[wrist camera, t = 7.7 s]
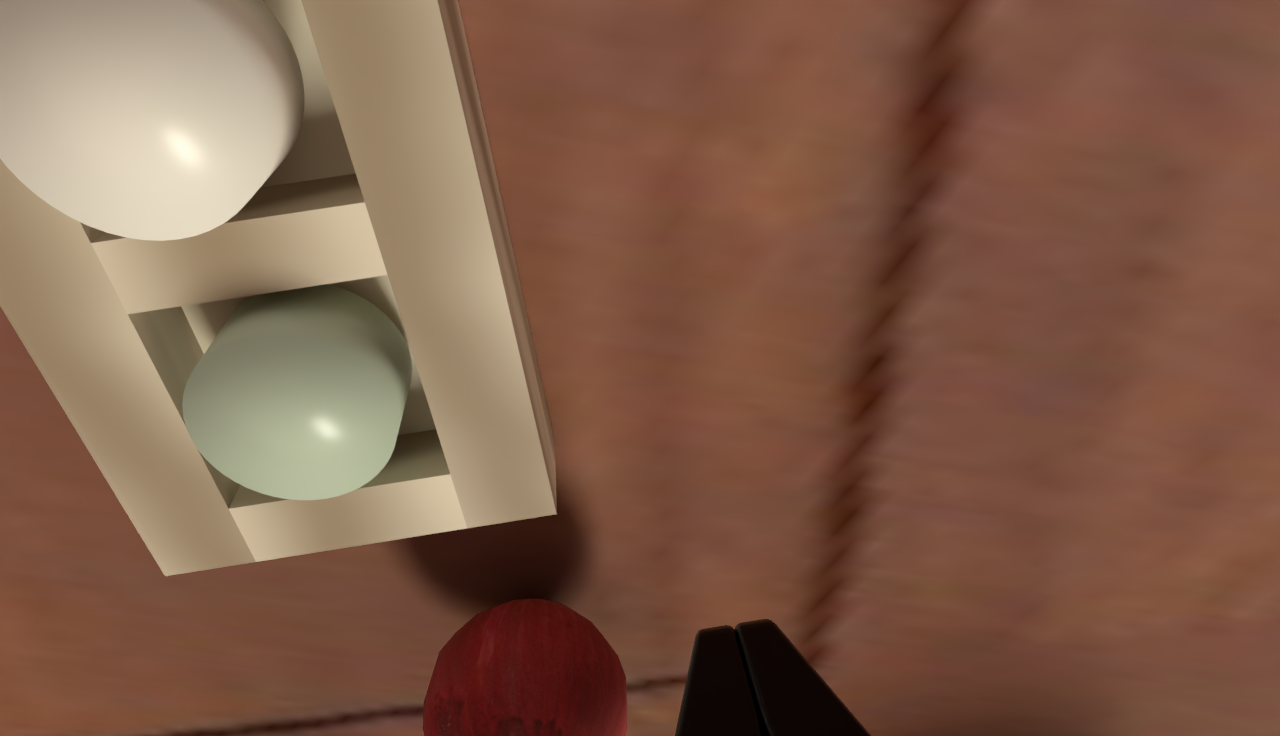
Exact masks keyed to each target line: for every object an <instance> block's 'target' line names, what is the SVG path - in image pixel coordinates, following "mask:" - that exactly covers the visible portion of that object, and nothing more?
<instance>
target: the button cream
mask: <svg viewBox="0 0 1280 736" xmlns="http://www.w3.org/2000/svg"><path fill="white" fill-rule="evenodd" d="M303 114H304V85H303V77H302V73H301V69H300V65H299V61H298V58H297V56H296V53H295V51H294V48H293V46H292V43H291V41H290V40H289V38H288V36H287V34H286V32H285V30H284V28H283V27H282V25H281V24H280V22H279V21H278V19H277V18H276V16H275V15H274V14H273V12H272V11H271V10H270V9H269V7H268V6H267V5H266V4H265V3H264V2H263V0H0V159H1V160H2V161H3V163H4V164H5V165H6V167H7V168H8V169H9V170H10V171H11V172H12V173H13V174H14V175H15V176H16V177H17V178H18V179H19V180H20V181H21V182H22V183H23V184H24V185H25V186H26V187H28V188H29V189H30V190H31V191H32V192H33V193H35V194H36V195H37V196H38V197H40V198H41V199H42V200H44V201H45V202H47V203H48V204H49V205H51V206H52V207H54V208H55V209H57V210H59V211H60V212H62V213H64V214H65V215H67V216H69V217H71V218H73V219H75V220H77V221H79V222H81V223H83V224H85V225H88V226H90V227H92V228H95V229H98V230H101V231H104V232H106V233H110V234H114V235H118V236H122V237H126V238H133V239H140V240H154V241H166V240H177V239H183V238H188V237H193V236H197V235H199V234H202V233H205V232H208V231H210V230H212V229H214V228H216V227H218V226H220V225H222V224H224V223H225V222H227V221H228V220H229V219H231V218H232V217H233V216H234V215H236V214H237V213H238V212H239V211H240V210H241V209H242V208H243V207H244V206H245V205H246V204H247V203H248V201H249V200H250V199H251V198H252V197H253V196H254V194H255V193H256V192H257V191H258V190H259V188H260V187H261V186H262V185H263V184H264V183H265V181H266V180H267V179H268V178H269V177H270V176H271V174H272V173H273V172H274V171H275V170H276V169H277V167H278V166H279V165H280V164H281V163H282V162H283V160H284V159H285V158H286V156H287V155H288V153H289V152H290V151H291V149H292V147H293V145H294V143H295V141H296V139H297V137H298V135H299V131H300V128H301V125H302V121H303Z"/></svg>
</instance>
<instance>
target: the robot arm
mask: <svg viewBox="0 0 1280 736" xmlns="http://www.w3.org/2000/svg"><path fill="white" fill-rule="evenodd" d="M675 736H871V735H870V734H869V733H868V732H867V731H866V729H865V728H864V727H863V726H862V725H861V724H860V722H859V721H858V720H857V719H856V718H855V717H854V715H853V714H852V713H851V712H850V711H849V710H848V708H847V707H846V706H845V705H844V704H843V702H842V701H841V700H840V699H839V698H838V697H837V695H836V694H835V693H834V692H833V691H832V690H831V688H830V687H829V686H828V685H827V684H826V683H825V681H824V680H823V679H822V678H821V677H820V675H819V674H818V673H817V672H816V671H815V670H814V668H813V667H812V666H811V665H810V664H809V663H808V661H807V660H806V659H805V658H804V657H803V656H802V654H801V653H800V652H799V651H798V650H797V649H796V647H795V646H794V645H793V644H792V643H791V641H790V640H789V639H788V638H787V637H786V636H785V634H784V633H783V632H782V631H781V630H780V629H779V627H778V626H777V625H776V624H775V623H774V622H772V621H771V620H769V619H762V620H756V621H750V622H743V623H739V624H738V625H737V626H736V627H735V630H734V629H733V628H732V627H731V626H728V625H725V626H719V627H713V628H707V629H702V630H700V631H698V633H697V634H696V637H695V641H694V646H693V651H692V656H691V661H690V665H689V670H688V675H687V680H686V685H685V690H684V695H683V699H682V704H681V709H680V714H679V719H678V724H677V729H676V733H675Z"/></svg>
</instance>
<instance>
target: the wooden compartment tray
mask: <svg viewBox="0 0 1280 736" xmlns="http://www.w3.org/2000/svg"><path fill="white" fill-rule="evenodd" d="M263 2H264V3H265V4H266V5H267V6H268V7H269V9H270V10H271V11H272V12H273V14H274V15H275V16H276V18H277V19H278V21H279V22H280V24H281V25H282V27H283V28H284V30H285V32H286V34H287V36H288V38H289V40H290V41H291V43H292V46H293V48H294V51H295V53H296V56H297V58H298V61H299V65H300V69H301V73H302V77H303V85H304V114H303V121H302V125H301V128H300V131H299V135H298V137H297V139H296V141H295V143H294V145H293V147H292V149H291V151H290V152H289V153H288V155H287V156H286V158H285V159H284V160H283V162H282V163H281V164H280V165H279V166H278V167H277V169H276V170H275V171H274V172H273V173H272V174H271V176H270V177H269V178H268V179H267V180H266V181H265V183H264V184H263V185H262V186H261V187H260V188H259V190H258V191H257V192H256V193H255V194H254V196H253V197H252V198H251V199H250V200H249V201H248V203H247V204H246V205H245V206H244V207H243V208H242V209H241V210H240V211H239V212H238V213H237V214H236V215H234V216H233V217H232V218H231V219H229V220H228V221H227V222H225V223H224V224H222V225H220V226H218V227H216V228H214V229H212V230H210V231H208V232H205V233H202V234H199V235H197V236H193V237H188V238H183V239H177V240H166V241H154V240H140V239H133V238H126V237H122V236H118V235H114V234H110V233H106V232H104V231H101V230H98V229H95V228H92V227H90V226H88V225H85V224H83V223H81V222H79V221H77V220H75V219H73V218H71V217H69V216H67V215H65V214H64V213H62V212H60V211H59V210H57V209H55V208H54V207H52V206H51V205H49V204H48V203H47V202H45V201H44V200H42V199H41V198H40V197H38V196H37V195H36V194H35V193H33V192H32V191H31V190H30V189H29V188H28V187H26V186H25V185H24V184H23V183H22V182H21V181H20V180H19V179H18V178H17V177H16V176H15V175H14V174H13V173H12V172H11V171H10V170H9V169H8V168H7V167H6V165H5V164H4V163H3V161H2V160H1V159H0V306H1V308H2V310H3V311H4V313H5V314H6V316H7V318H8V319H9V321H10V323H11V324H12V326H13V328H14V329H15V331H16V332H17V334H18V336H19V337H20V339H21V341H22V342H23V344H24V346H25V347H26V349H27V351H28V352H29V354H30V355H31V357H32V359H33V360H34V362H35V364H36V365H37V367H38V369H39V370H40V372H41V373H42V375H43V377H44V378H45V380H46V382H47V383H48V385H49V387H50V388H51V390H52V392H53V393H54V395H55V396H56V398H57V400H58V401H59V403H60V405H61V406H62V408H63V410H64V411H65V413H66V414H67V416H68V418H69V419H70V421H71V423H72V424H73V426H74V428H75V429H76V431H77V433H78V434H79V436H80V437H81V439H82V441H83V442H84V444H85V446H86V447H87V449H88V451H89V452H90V454H91V455H92V457H93V459H94V460H95V462H96V464H97V465H98V467H99V469H100V470H101V472H102V473H103V475H104V477H105V478H106V480H107V482H108V483H109V485H110V487H111V488H112V490H113V492H114V493H115V495H116V496H117V498H118V500H119V501H120V503H121V505H122V506H123V508H124V510H125V511H126V513H127V514H128V516H129V518H130V519H131V521H132V523H133V524H134V526H135V528H136V529H137V531H138V533H139V534H140V536H141V537H142V539H143V541H144V542H145V544H146V546H147V547H148V549H149V551H150V552H151V554H152V555H153V557H154V559H155V560H156V562H157V564H158V565H159V567H160V569H161V570H162V572H163V574H164V575H165V576H170V575H176V574H182V573H189V572H195V571H201V570H207V569H214V568H220V567H226V566H233V565H239V564H245V563H252V562H258V561H264V560H271V559H277V558H283V557H290V556H296V555H302V554H309V553H315V552H321V551H328V550H334V549H340V548H346V547H353V546H359V545H365V544H372V543H378V542H384V541H391V540H397V539H403V538H410V537H416V536H422V535H429V534H435V533H441V532H448V531H454V530H460V529H467V528H473V527H479V526H486V525H492V524H498V523H504V522H511V521H517V520H523V519H530V518H536V517H542V516H549V515H555V514H557V504H556V456H555V440H554V435H553V431H552V426H551V422H550V417H549V413H548V408H547V404H546V399H545V394H544V390H543V385H542V381H541V376H540V372H539V367H538V363H537V358H536V354H535V349H534V344H533V340H532V335H531V331H530V326H529V322H528V317H527V313H526V308H525V303H524V299H523V294H522V290H521V285H520V281H519V276H518V272H517V267H516V262H515V258H514V253H513V249H512V244H511V240H510V235H509V231H508V226H507V221H506V217H505V212H504V208H503V203H502V199H501V194H500V190H499V185H498V181H497V176H496V171H495V167H494V162H493V158H492V153H491V149H490V144H489V140H488V135H487V130H486V126H485V121H484V117H483V112H482V108H481V103H480V99H479V94H478V89H477V85H476V80H475V76H474V71H473V67H472V62H471V58H470V53H469V49H468V44H467V39H466V35H465V30H464V26H463V21H462V17H461V12H460V8H459V3H458V0H263ZM325 284H328V285H332V286H336V287H340V288H342V289H345V290H348V291H350V292H353V293H355V294H357V295H359V296H361V297H363V298H364V299H366V300H368V301H369V302H371V303H372V304H374V305H375V306H376V307H378V308H379V309H380V310H381V311H382V312H384V313H385V314H386V315H387V316H388V317H389V318H390V319H391V321H392V322H393V323H394V324H395V326H396V327H397V328H398V330H399V331H400V333H401V334H402V336H403V338H404V340H405V342H406V344H407V347H408V349H409V353H410V357H411V363H412V379H411V384H410V388H409V392H408V396H407V400H406V404H405V408H404V412H403V416H402V420H401V424H400V428H399V432H398V436H397V440H396V444H395V448H394V450H393V453H392V455H391V457H390V459H389V461H388V462H387V464H386V465H385V467H384V468H383V469H382V470H381V471H380V472H379V474H378V475H376V476H375V477H374V478H373V479H372V480H370V481H369V482H368V483H366V484H365V485H363V486H361V487H360V488H358V489H356V490H353V491H351V492H349V493H346V494H343V495H340V496H337V497H332V498H327V499H319V500H291V499H283V498H278V497H273V496H269V495H265V494H262V493H259V492H256V491H254V490H251V489H248V488H246V487H244V486H242V485H240V484H238V483H236V482H234V481H233V480H231V479H230V478H228V477H226V476H225V475H223V474H222V473H221V472H220V471H218V470H217V469H216V468H214V467H213V466H212V465H211V464H210V463H209V462H208V461H207V460H206V459H205V458H204V456H203V455H202V454H201V453H200V452H199V450H198V449H197V448H196V446H195V444H194V443H193V441H192V439H191V438H190V435H189V433H188V431H187V428H186V425H185V421H184V417H183V408H182V403H183V393H184V390H185V386H186V383H187V381H188V379H189V377H190V375H191V373H192V371H193V370H194V368H195V367H196V366H197V364H198V363H199V361H200V360H201V358H202V357H203V355H204V354H205V352H206V351H207V349H208V348H209V346H210V345H211V343H212V342H213V341H214V339H215V338H216V336H217V335H218V333H219V332H220V330H221V329H222V327H223V326H224V324H225V323H226V321H227V320H228V318H229V317H230V316H231V314H232V313H233V312H234V310H235V309H236V308H237V307H238V306H239V305H240V304H241V303H242V302H243V301H245V300H246V299H247V298H249V297H250V296H252V295H258V294H265V293H272V292H278V291H285V290H292V289H298V288H305V287H311V286H318V285H325Z"/></svg>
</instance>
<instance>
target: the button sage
mask: <svg viewBox="0 0 1280 736" xmlns="http://www.w3.org/2000/svg"><path fill="white" fill-rule="evenodd" d="M411 379H412V363H411V357H410V353H409V349H408V347H407V344H406V342H405V340H404V338H403V336H402V334H401V333H400V331H399V330H398V328H397V327H396V326H395V324H394V323H393V322H392V321H391V319H390V318H389V317H388V316H387V315H386V314H385V313H384V312H382V311H381V310H380V309H379V308H378V307H376V306H375V305H374V304H372V303H371V302H369V301H368V300H366V299H364V298H363V297H361V296H359V295H357V294H355V293H353V292H350V291H348V290H345V289H342V288H340V287H336V286H332V285H328V284H325V285H318V286H311V287H305V288H298V289H292V290H285V291H278V292H272V293H265V294H258V295H252V296H250V297H249V298H247V299H246V300H245V301H243V302H242V303H241V304H240V305H239V306H238V307H237V308H236V309H235V310H234V312H233V313H232V314H231V316H230V317H229V318H228V320H227V321H226V323H225V324H224V326H223V327H222V329H221V330H220V332H219V333H218V335H217V336H216V338H215V339H214V341H213V342H212V343H211V345H210V346H209V348H208V349H207V351H206V352H205V354H204V355H203V357H202V358H201V360H200V361H199V363H198V364H197V366H196V367H195V368H194V370H193V371H192V373H191V375H190V377H189V379H188V381H187V383H186V386H185V390H184V393H183V403H182V408H183V417H184V421H185V425H186V428H187V431H188V433H189V435H190V438H191V439H192V441H193V443H194V444H195V446H196V448H197V449H198V450H199V452H200V453H201V454H202V455H203V456H204V458H205V459H206V460H207V461H208V462H209V463H210V464H211V465H212V466H213V467H214V468H216V469H217V470H218V471H220V472H221V473H222V474H223V475H225V476H226V477H228V478H230V479H231V480H233V481H234V482H236V483H238V484H240V485H242V486H244V487H246V488H248V489H251V490H254V491H256V492H259V493H262V494H265V495H269V496H273V497H278V498H283V499H291V500H319V499H327V498H332V497H337V496H340V495H343V494H346V493H349V492H351V491H353V490H356V489H358V488H360V487H361V486H363V485H365V484H366V483H368V482H369V481H370V480H372V479H373V478H374V477H375V476H376V475H378V474H379V472H380V471H381V470H382V469H383V468H384V467H385V465H386V464H387V462H388V461H389V459H390V457H391V455H392V453H393V450H394V448H395V444H396V440H397V436H398V432H399V428H400V424H401V420H402V416H403V412H404V408H405V404H406V400H407V396H408V392H409V388H410V384H411Z"/></svg>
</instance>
